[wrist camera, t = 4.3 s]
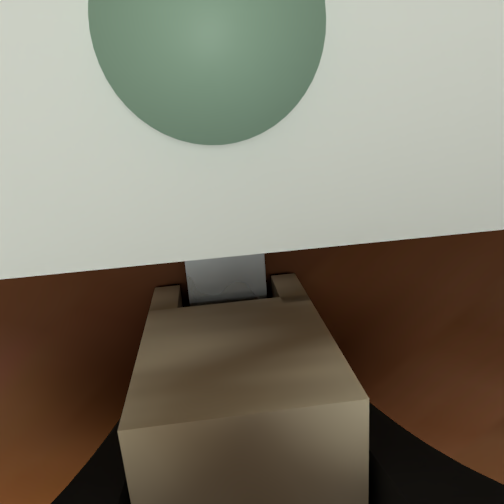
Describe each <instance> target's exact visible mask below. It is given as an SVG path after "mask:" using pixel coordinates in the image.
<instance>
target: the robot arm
mask: <svg viewBox="0 0 504 504" xmlns="http://www.w3.org/2000/svg"><path fill="white" fill-rule="evenodd" d="M120 419H121V418H120ZM119 423H120V420H119V421H118V422H117V424H116V425H115V427H114V428H113V429H112V431H111V432H110V434H109V435H108V436H107V438H106V439H105V440H104V442H103V443H102V444H101V445H100V447H99V448H98V449H97V451H96V452H95V453H94V455H93V456H92V457H91V458H90V460H89V461H88V462H87V463H86V465H85V466H84V467H83V468H82V469H81V470H80V472H79V473H78V474H77V475H76V476H75V477H74V479H73V480H72V481H71V482H70V483H69V485H68V486H67V487H66V488H65V489H64V490H63V491H62V492H61V493H60V494H59V496H58V497H57V498H56V499H55V500H54V501H53V502H52V503H51V504H131V501H130V496H129V491H128V485H127V480H126V475H125V469H124V464H123V459H122V453H121V448H120V443H119V437H118V432H117V431H118V427H119ZM368 504H504V485H503V484H501V483H499V482H496V481H494V480H492V479H490V478H488V477H486V476H484V475H482V474H480V473H478V472H476V471H474V470H472V469H470V468H468V467H466V466H464V465H462V464H460V463H458V462H457V461H455V460H453V459H452V458H450V457H448V456H446V455H445V454H443V453H441V452H439V451H438V450H436V449H434V448H433V447H431V446H429V445H428V444H426V443H425V442H423V441H422V440H420V439H419V438H417V437H416V436H414V435H413V434H411V433H410V432H408V431H407V430H405V429H404V428H402V427H401V426H400V425H398V424H397V423H396V422H394V421H393V420H391V419H390V418H389V417H387V416H386V415H385V414H384V413H382V412H381V411H380V410H378V409H377V408H376V407H375V406H373V405H372V404H371V403H370V402H369V496H368Z"/></svg>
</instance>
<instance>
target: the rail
mask: <svg viewBox="0 0 504 504" xmlns="http://www.w3.org/2000/svg"><path fill="white" fill-rule="evenodd" d="M185 268H186V276H187V285H188V293H189V301H190V307H192V306H201V305H210V304H219V303H229V302H238V301H247V300H257V299H266V298H267V290H266V275H265V259H264V253H262V254H252V255H242V256H232V257H222V258H211V259H201V260H191V261H185Z"/></svg>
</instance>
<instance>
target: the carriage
mask: <svg viewBox="0 0 504 504" xmlns="http://www.w3.org/2000/svg"><path fill="white" fill-rule="evenodd" d="M271 288H272V298H266V299H257V300H247V301H238V302H229V303H219V304H210V305H201V306H192V307H183V305H182V297H181V289H180V285H177V286H167V287H157V288H155V290H154V293H153V297H152V301H151V305H150V309H149V313H148V316H147V320H146V324H145V328H144V332H143V335H142V339H141V343H140V347H139V351H138V354H137V358H136V362H135V366H134V370H133V374H132V377H131V381H130V385H129V389H128V393H127V396H126V400H125V404H124V408H123V412H122V415H121V419H120V423H119V427H118V431H117V432H118V437H119V443H120V448H121V453H122V459H123V464H124V469H125V475H126V480H127V485H128V491H129V496H130V501H131V504H368V496H369V398H368V396H367V394H366V392H365V391H364V389H363V387H362V386H361V384H360V382H359V381H358V379H357V377H356V376H355V374H354V372H353V371H352V369H351V367H350V366H349V364H348V362H347V360H346V359H345V357H344V355H343V354H342V352H341V350H340V349H339V347H338V345H337V344H336V342H335V340H334V339H333V337H332V335H331V334H330V332H329V330H328V328H327V327H326V325H325V323H324V322H323V320H322V318H321V317H320V315H319V313H318V312H317V310H316V308H315V307H314V305H313V303H312V302H311V300H310V298H309V296H308V295H307V293H306V291H305V290H304V288H303V286H302V285H301V283H300V281H299V280H298V278H297V276H296V275H295V273H293V274H283V275H273V276H271Z"/></svg>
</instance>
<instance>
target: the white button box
mask: <svg viewBox="0 0 504 504" xmlns="http://www.w3.org/2000/svg"><path fill="white" fill-rule="evenodd" d="M494 230H504V0H0V279H9V278H20V277H30V276H40V275H50V274H60V273H70V272H80V271H90V270H100V269H110V268H121V267H131V266H141V265H151V264H161V263H171V262H181V261H191V260H201V259H211V258H222V257H232V256H242V255H252V254H262V253H272V252H282V251H292V250H302V249H313V248H323V247H333V246H343V245H353V244H363V243H373V242H383V241H393V240H403V239H414V238H424V237H434V236H444V235H454V234H464V233H474V232H484V231H494Z"/></svg>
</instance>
